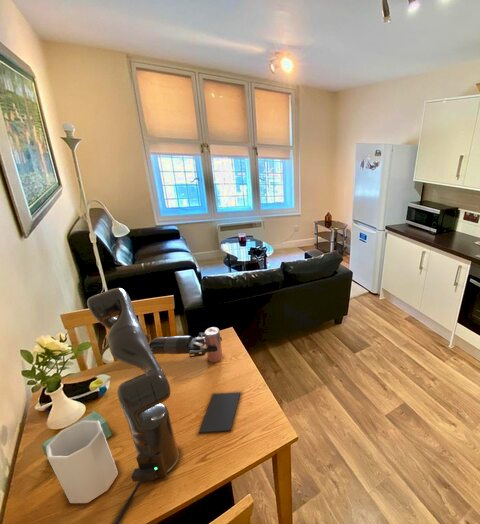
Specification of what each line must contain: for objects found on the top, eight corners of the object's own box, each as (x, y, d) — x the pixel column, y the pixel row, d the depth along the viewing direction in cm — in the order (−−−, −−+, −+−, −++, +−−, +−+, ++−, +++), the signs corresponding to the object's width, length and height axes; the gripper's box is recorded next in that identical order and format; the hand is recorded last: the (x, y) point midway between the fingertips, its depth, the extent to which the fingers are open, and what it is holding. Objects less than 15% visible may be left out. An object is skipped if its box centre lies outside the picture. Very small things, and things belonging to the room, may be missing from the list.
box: (47, 460, 86) (39, 443, 83) (101, 425, 97) (95, 409, 94) (59, 473, 83) (51, 456, 80) (113, 435, 94) (107, 419, 91)
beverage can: (217, 364, 127) (213, 336, 121) (205, 361, 128) (201, 333, 122) (225, 355, 132) (222, 328, 126) (213, 352, 133) (210, 325, 127)
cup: (113, 494, 79) (95, 449, 72) (60, 513, 74) (35, 467, 67) (122, 456, 88) (107, 413, 81) (75, 471, 84) (55, 427, 77)
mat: (230, 430, 99) (230, 429, 98) (199, 433, 97) (199, 432, 97) (240, 393, 113) (240, 392, 113) (213, 395, 112) (213, 394, 111)
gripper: (170, 349, 117) (213, 347, 119) (183, 328, 130) (222, 327, 132) (173, 363, 120) (215, 361, 122) (186, 341, 133) (224, 340, 135)
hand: (219, 343), depth 127 cm, fingers closed on beverage can, 6 cm apart
